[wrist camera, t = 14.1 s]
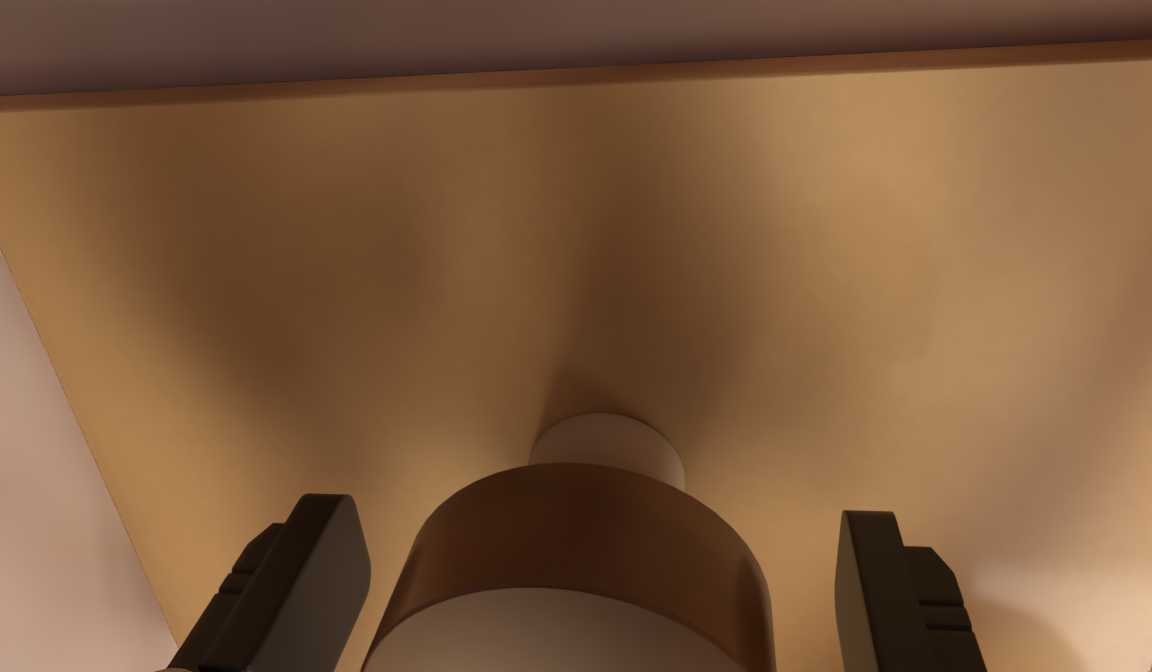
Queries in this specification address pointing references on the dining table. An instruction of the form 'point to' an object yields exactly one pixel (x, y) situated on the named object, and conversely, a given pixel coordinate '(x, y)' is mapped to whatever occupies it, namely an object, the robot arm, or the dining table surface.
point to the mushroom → (579, 569)
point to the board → (626, 312)
